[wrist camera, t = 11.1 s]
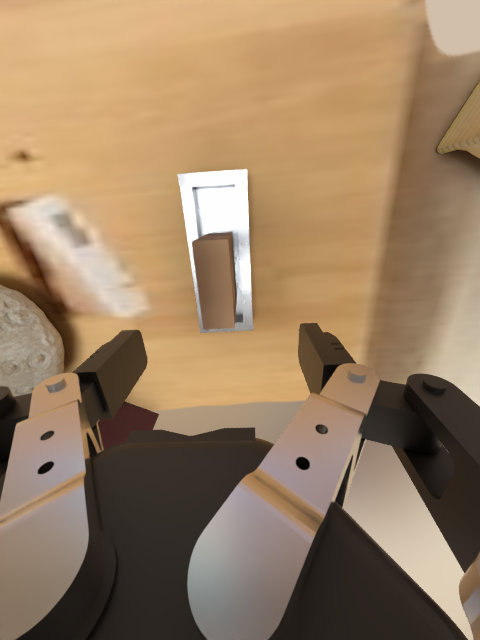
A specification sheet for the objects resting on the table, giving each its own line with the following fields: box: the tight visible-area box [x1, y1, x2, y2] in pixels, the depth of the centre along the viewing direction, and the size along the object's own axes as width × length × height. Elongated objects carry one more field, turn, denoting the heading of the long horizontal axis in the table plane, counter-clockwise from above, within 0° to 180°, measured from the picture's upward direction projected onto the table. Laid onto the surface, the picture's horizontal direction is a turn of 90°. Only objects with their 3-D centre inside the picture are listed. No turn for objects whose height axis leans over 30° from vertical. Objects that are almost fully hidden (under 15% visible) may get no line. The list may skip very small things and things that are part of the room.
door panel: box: [192, 232, 237, 330], centre depth 25 cm, size 3×8×10 cm, turn 3°
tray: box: [178, 169, 253, 333], centre depth 29 cm, size 7×18×4 cm, turn 3°
